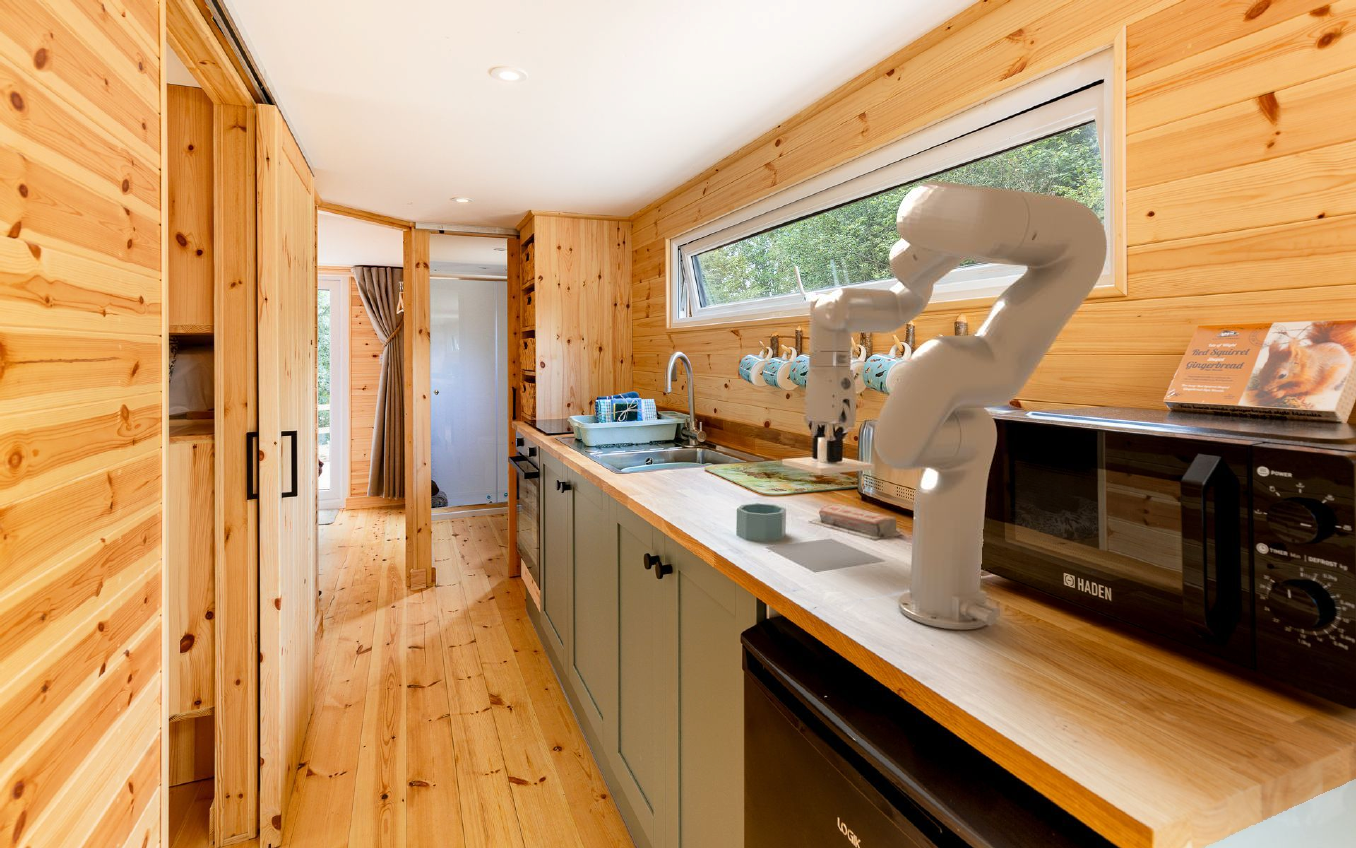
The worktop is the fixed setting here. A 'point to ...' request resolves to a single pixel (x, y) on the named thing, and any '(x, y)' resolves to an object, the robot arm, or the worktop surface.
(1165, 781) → the worktop surface
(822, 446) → the lid
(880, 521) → the packaged product
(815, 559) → the mat
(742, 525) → the bowl
